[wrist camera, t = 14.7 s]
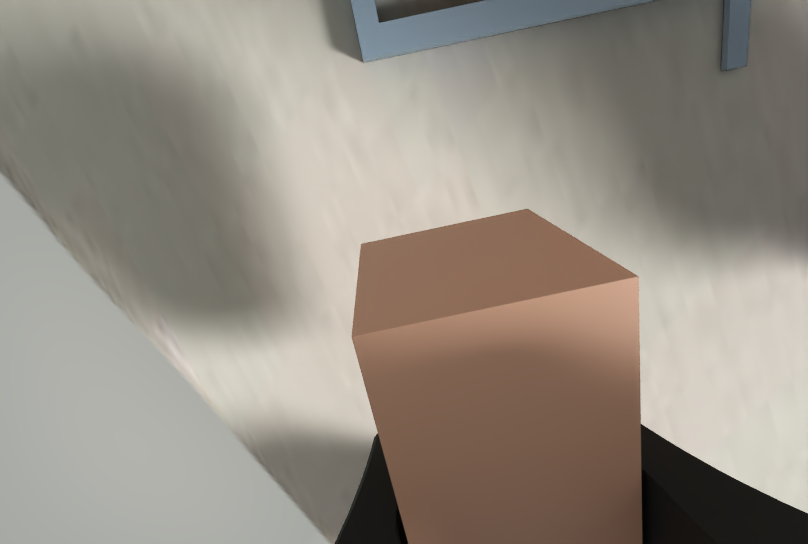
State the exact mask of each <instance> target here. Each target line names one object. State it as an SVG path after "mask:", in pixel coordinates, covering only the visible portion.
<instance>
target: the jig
mask: <svg viewBox="0 0 808 544" xmlns="http://www.w3.org/2000/svg"><path fill="white" fill-rule="evenodd" d="M651 1H656V0H484V1H479V2H474V3H470V4H465V5H460V6H456V7H451V8H446V9H442V10H437V11H432V12H428V13H423V14H418V15H414V16H409V17H404V18H400V19H395V20H390V21H386V22H381V23H379V21H378V16H377V10H376V5H375V0H351V5H352V10H353V14H354V19H355V24H356V29H357V33H358V38H359V43H360V48H361V52H362V57H363V62H364V63H365V62H370V61H375V60H379V59H384V58H389V57H393V56H398V55H403V54H408V53H412V52H417V51H422V50H426V49H431V48H436V47H440V46H445V45H450V44H454V43H459V42H464V41H468V40H473V39H478V38H482V37H487V36H492V35H496V34H501V33H506V32H510V31H515V30H520V29H525V28H529V27H534V26H539V25H543V24H548V23H553V22H557V21H562V20H567V19H571V18H576V17H581V16H585V15H590V14H595V13H599V12H604V11H609V10H613V9H618V8H623V7H627V6H632V5H637V4H641V3H646V2H651ZM750 8H751V0H725V1H724V22H723V42H722V63H721V71H724V70H730V69H734V68H739V67H744V66H747V53H748V38H749V23H750Z"/></svg>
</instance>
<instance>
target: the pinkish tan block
mask: <svg viewBox="0 0 808 544" xmlns="http://www.w3.org/2000/svg"><path fill="white" fill-rule="evenodd" d="M352 340H353V343H354V347H355V351H356V354H357V358H358V362H359V365H360V369H361V373H362V376H363V380H364V384H365V387H366V391H367V395H368V398H369V402H370V405H371V409H372V413H373V416H374V420H375V424H376V427H377V431H378V435H379V438H380V442H381V446H382V449H383V453H384V457H385V460H386V464H387V468H388V471H389V475H390V479H391V482H392V486H393V489H394V493H395V497H396V500H397V504H398V508H399V511H400V515H401V519H402V522H403V526H404V530H405V533H406V537H407V541H408V544H642V481H641V413H640V345H639V277H638V276H637V275H635V274H634V273H632V272H630V271H629V270H627V269H625V268H624V267H622V266H620V265H619V264H617V263H616V262H614V261H612V260H611V259H609V258H607V257H606V256H604V255H602V254H601V253H599V252H598V251H596V250H594V249H593V248H591V247H589V246H588V245H586V244H584V243H583V242H581V241H579V240H578V239H576V238H575V237H573V236H571V235H570V234H568V233H566V232H565V231H563V230H561V229H560V228H558V227H557V226H555V225H553V224H552V223H550V222H548V221H547V220H545V219H543V218H542V217H540V216H538V215H537V214H535V213H534V212H532V211H530V210H529V209H524V210H519V211H515V212H510V213H505V214H500V215H496V216H491V217H486V218H482V219H477V220H472V221H467V222H463V223H458V224H453V225H449V226H444V227H439V228H434V229H430V230H425V231H420V232H416V233H411V234H406V235H401V236H397V237H392V238H387V239H383V240H378V241H373V242H368V243H364V244H361V250H360V260H359V270H358V280H357V290H356V299H355V309H354V319H353V329H352Z"/></svg>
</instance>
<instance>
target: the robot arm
mask: <svg viewBox="0 0 808 544" xmlns="http://www.w3.org/2000/svg"><path fill="white" fill-rule="evenodd" d="M641 481H642V544H808V514H807V513H805V512H803V511H801V510H799V509H796V508H794V507H792V506H790V505H788V504H785V503H783V502H781V501H779V500H777V499H775V498H773V497H771V496H769V495H767V494H765V493H762V492H760V491H758V490H756V489H754V488H752V487H750V486H748V485H746V484H744V483H742V482H740V481H738V480H736V479H734V478H732V477H730V476H729V475H727V474H725V473H723V472H721V471H719V470H717V469H716V468H714V467H712V466H710V465H708V464H707V463H705V462H703V461H701V460H699V459H698V458H696V457H694V456H692V455H691V454H689V453H687V452H685V451H684V450H682V449H680V448H679V447H677V446H675V445H674V444H672V443H670V442H669V441H667V440H666V439H664V438H662V437H661V436H659V435H658V434H656V433H654V432H653V431H651V430H650V429H648V428H646V427H645V426H643V425H642V424H641ZM335 544H408V541H407V537H406V533H405V530H404V526H403V522H402V519H401V515H400V511H399V508H398V504H397V500H396V497H395V493H394V489H393V486H392V482H391V479H390V475H389V471H388V468H387V464H386V460H385V457H384V453H383V449H382V446H381V442H380V438H379V435H378V434H377V435H376V436H375V438H374V441H373V445H372V449H371V452H370V456H369V459H368V462H367V465H366V468H365V471H364V474H363V477H362V480H361V483H360V485H359V488H358V490H357V493H356V495H355V498H354V501H353V503H352V506H351V508H350V511H349V513H348V515H347V518H346V520H345V522H344V524H343V526H342V529H341V531H340V533H339V535H338V538H337V540H336V542H335Z"/></svg>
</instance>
